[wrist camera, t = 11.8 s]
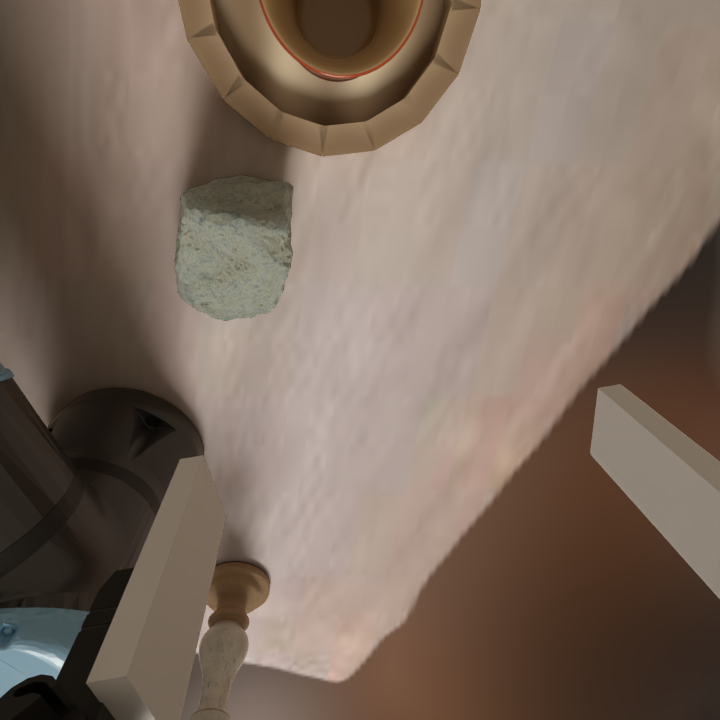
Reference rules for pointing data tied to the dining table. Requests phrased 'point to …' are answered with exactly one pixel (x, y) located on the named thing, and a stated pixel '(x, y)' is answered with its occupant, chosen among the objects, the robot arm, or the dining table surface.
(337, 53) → the mug
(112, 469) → the robot arm
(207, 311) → the decorative stone
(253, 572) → the candle holder
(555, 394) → the dining table surface
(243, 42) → the round tray
